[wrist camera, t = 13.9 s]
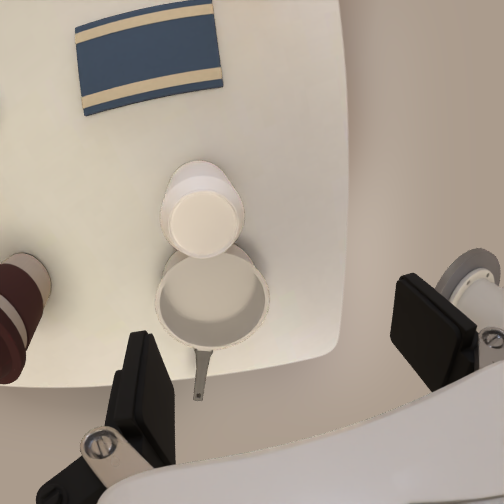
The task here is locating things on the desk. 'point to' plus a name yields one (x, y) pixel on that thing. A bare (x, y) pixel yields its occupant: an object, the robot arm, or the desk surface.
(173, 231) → the beverage can
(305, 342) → the desk surface
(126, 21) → the towel
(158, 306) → the saucepan
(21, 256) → the coffee cup
